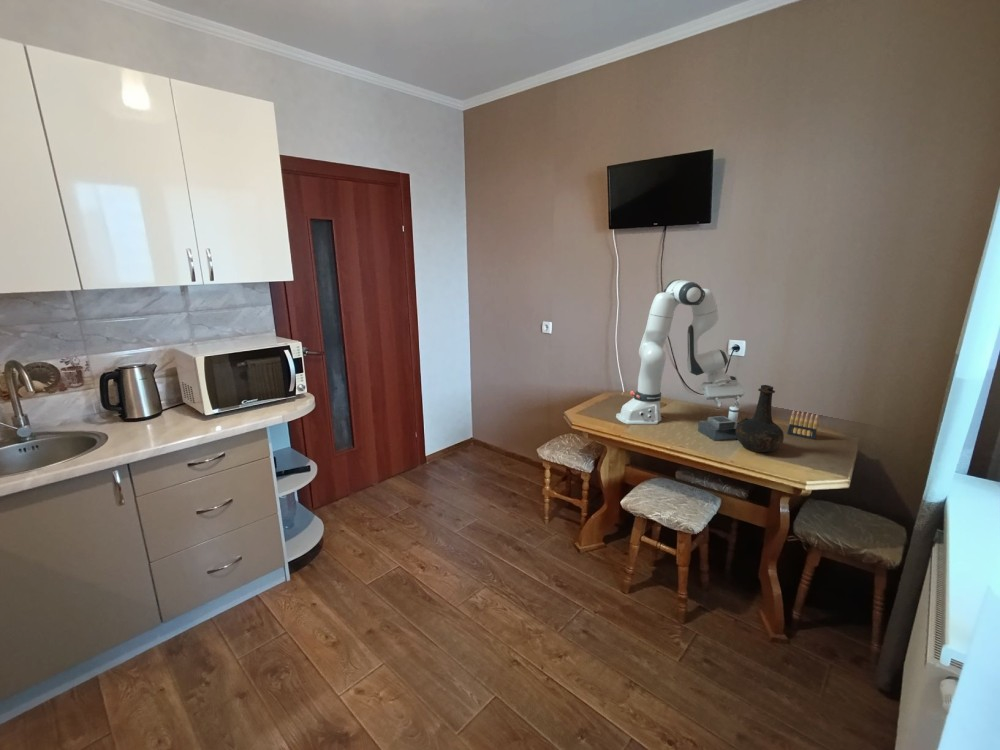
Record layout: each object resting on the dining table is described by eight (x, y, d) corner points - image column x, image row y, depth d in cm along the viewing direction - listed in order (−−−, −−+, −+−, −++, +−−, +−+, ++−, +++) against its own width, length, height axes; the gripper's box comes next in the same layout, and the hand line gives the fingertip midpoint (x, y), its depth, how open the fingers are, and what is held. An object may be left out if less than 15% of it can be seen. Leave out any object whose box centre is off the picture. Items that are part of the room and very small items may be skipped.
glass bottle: (742, 436, 200) (750, 377, 193) (787, 448, 187) (797, 385, 180) (726, 447, 188) (735, 385, 181) (773, 461, 175) (784, 394, 168)
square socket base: (714, 440, 195) (716, 425, 193) (697, 430, 207) (699, 416, 205) (742, 438, 198) (744, 422, 196) (724, 428, 209) (726, 414, 207)
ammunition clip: (787, 434, 202) (791, 409, 199) (787, 433, 204) (792, 408, 201) (815, 440, 195) (819, 414, 192) (815, 438, 197) (820, 413, 194)
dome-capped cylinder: (730, 426, 212) (733, 409, 210) (725, 423, 216) (727, 406, 213) (738, 426, 212) (740, 408, 210) (732, 423, 216) (735, 405, 214)
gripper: (703, 379, 218) (713, 404, 211) (739, 377, 221) (751, 401, 214) (697, 385, 223) (707, 409, 216) (732, 383, 227) (743, 406, 220)
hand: (729, 405), depth 215 cm, fingers open, 8 cm apart
